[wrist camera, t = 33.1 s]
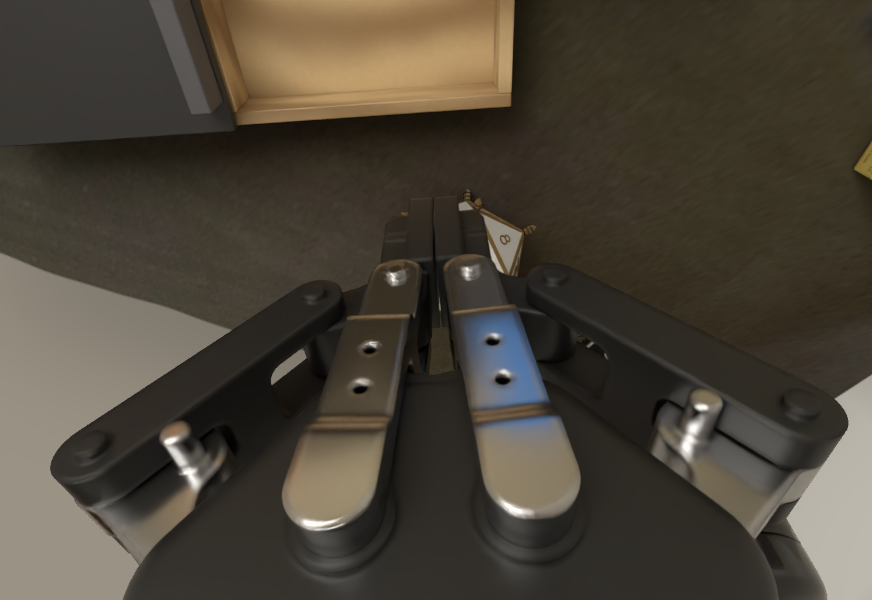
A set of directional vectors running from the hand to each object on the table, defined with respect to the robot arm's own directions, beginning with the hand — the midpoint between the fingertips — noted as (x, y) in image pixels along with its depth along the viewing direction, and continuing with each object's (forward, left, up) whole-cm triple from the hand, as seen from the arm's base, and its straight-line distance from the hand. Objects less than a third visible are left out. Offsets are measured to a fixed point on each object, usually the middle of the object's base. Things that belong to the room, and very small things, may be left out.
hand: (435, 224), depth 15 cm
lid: (+4, +18, -13) cm, 22 cm away
